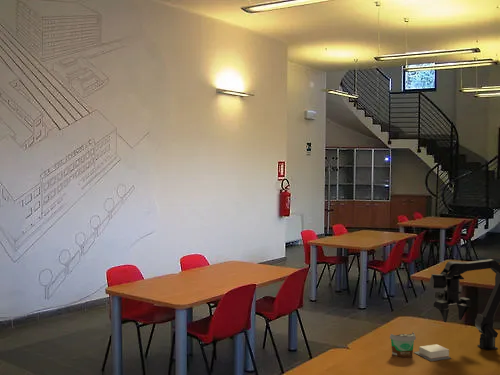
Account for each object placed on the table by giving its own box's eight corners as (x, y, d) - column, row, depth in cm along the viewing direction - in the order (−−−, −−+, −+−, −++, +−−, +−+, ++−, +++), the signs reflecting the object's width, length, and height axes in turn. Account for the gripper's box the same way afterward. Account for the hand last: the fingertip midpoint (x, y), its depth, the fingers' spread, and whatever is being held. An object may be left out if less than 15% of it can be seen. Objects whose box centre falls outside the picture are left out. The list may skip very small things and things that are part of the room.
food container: (396, 360, 241) (396, 337, 241) (389, 355, 247) (389, 333, 247) (420, 357, 245) (421, 335, 244) (413, 353, 250) (413, 331, 250)
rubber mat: (432, 350, 255) (432, 349, 255) (450, 358, 244) (450, 357, 244) (413, 352, 251) (413, 352, 251) (430, 361, 240) (430, 360, 240)
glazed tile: (437, 344, 253) (419, 346, 250) (448, 349, 246) (430, 352, 242) (436, 350, 253) (419, 353, 250) (448, 356, 246) (430, 358, 242)
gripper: (455, 283, 269) (455, 314, 270) (425, 286, 262) (425, 319, 262) (472, 287, 259) (472, 320, 259) (442, 291, 251) (442, 325, 252)
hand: (452, 321), depth 258 cm, fingers open, 9 cm apart
